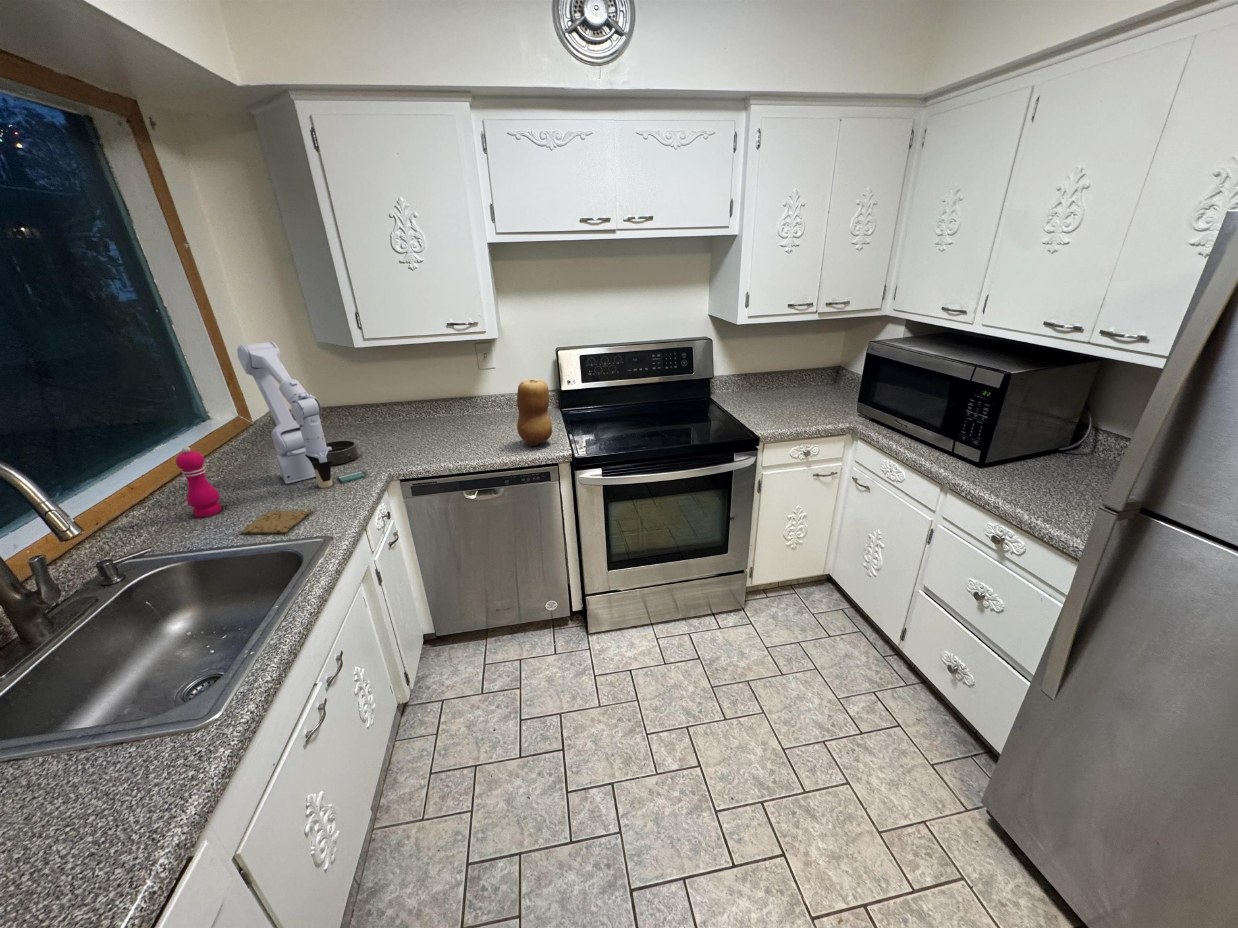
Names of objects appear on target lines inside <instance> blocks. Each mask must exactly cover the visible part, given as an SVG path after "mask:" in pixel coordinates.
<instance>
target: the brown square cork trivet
mask: <svg viewBox="0 0 1238 928" xmlns="http://www.w3.org/2000/svg"><path fill="white" fill-rule="evenodd" d="M311 513H312V512H311V510H270V511H269V510H268V511H267V512H266V513H264V514H262V515H261V516H260V517H259V518H258V519H256V520H255V521H254V522H251V523H249V524H248V525H246V527H245V528H244V529H242V530H241V534H246V535H248V534H250V535H251V534H257V535H258V534H262V535H263V534H287V533H288V532H289V531H290V530H291V529H292V528H293V527H295V526H296V525H297V524H299V523H300V522H301V521H303V519H304V518H305V517H307V516H308V515H309V514H311Z"/></svg>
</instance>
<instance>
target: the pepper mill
mask: <svg viewBox="0 0 1238 928" xmlns="http://www.w3.org/2000/svg"><path fill="white" fill-rule="evenodd" d="M204 464H205V458H204V456H203V454H202V453H200V452H198V451H194V450H192V449H191V448H190V447H189V446H183V447H182V448H181V453H180V454H178V455H177V456H176V458H175V465H176V467H178V468H179V469H180V470H181V473H182V476H183V477H185V478H186V480H187V483H188V487H187V488H188V489H187V493H186V501H187V505H189V506H190V507H192V508H193V509H192V512H193V515H194V517H197V518H205V517H209V516H213V515H217V514H218V513H220V512H221V511H222V509H223V508H222V506H221V503H220V502H219V500H220V497H221V496H220V493H219V491H218V490H217V489H216V488H215V487H214V486H213V485H211V483H210V482H209V481H208V479H207V477H206V474H205V473H206V471H207V470H206V467H205V466H203V465H204Z"/></svg>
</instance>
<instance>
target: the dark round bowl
mask: <svg viewBox="0 0 1238 928" xmlns="http://www.w3.org/2000/svg"><path fill="white" fill-rule="evenodd" d="M326 446H327V447H331V448H332V450H330V451H328V453H327V455H326V458H327V459H331V458H332V459H333V463H332V465H331V466H335V465H341V464H345V463H346V464H347V463H349V462H352V461H353V460H355V459H357V458H358V457H359V450H358V445H357V442H356V441H354V440H350V439H349V440H348V439H341V440H339V439H338V440H332V441H328V442H326Z"/></svg>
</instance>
